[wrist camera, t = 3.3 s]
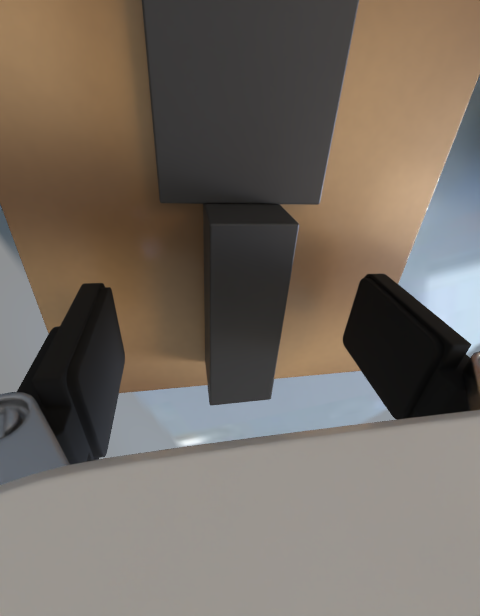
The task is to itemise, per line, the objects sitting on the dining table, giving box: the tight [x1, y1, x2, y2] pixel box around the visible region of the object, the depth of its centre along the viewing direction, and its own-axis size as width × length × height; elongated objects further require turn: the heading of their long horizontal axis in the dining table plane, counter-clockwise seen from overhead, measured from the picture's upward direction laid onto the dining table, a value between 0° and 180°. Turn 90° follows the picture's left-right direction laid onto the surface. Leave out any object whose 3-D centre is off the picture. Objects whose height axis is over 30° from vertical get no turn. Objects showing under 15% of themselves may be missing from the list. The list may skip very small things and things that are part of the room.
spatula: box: [142, 0, 359, 405], centre depth 9 cm, size 12×5×2 cm, turn 177°
